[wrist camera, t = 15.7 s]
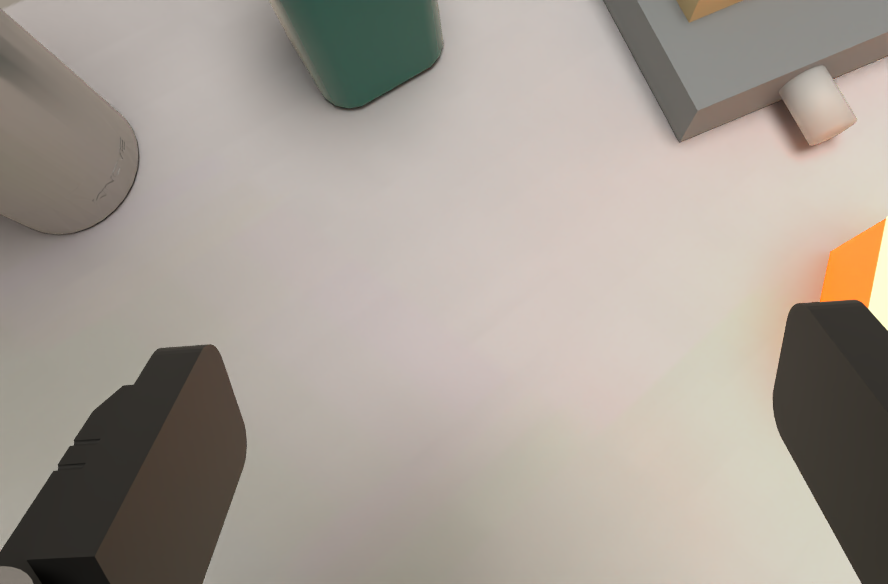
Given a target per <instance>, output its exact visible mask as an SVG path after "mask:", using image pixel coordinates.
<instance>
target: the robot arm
mask: <svg viewBox="0 0 888 584" xmlns="http://www.w3.org/2000/svg"><path fill="white" fill-rule="evenodd" d="M137 165H138V147H137V141H136V138H135V135H134V133H133V130H132V128H131V126H130V125H129V123H128V122H127V121H126V119H125V118H124V117H123V116H122V115H121V114H120V113H119V112H118V111H116V110H115V109H114V108H113V107H112V106H111V105H110V104H109V103H107V102H106V101H105V100H104V99H103V98H102V97H101V96H100V95H98V94H97V93H96V92H95V91H94V90H93V89H92V88H90V87H89V86H88V85H87V84H86V83H85V82H84V81H83V80H82V79H81V78H80V77H78V76H77V75H76V74H75V73H74V72H73V71H72V70H70V69H69V68H68V67H67V66H66V65H65V64H64V63H62V62H61V61H60V60H59V59H58V58H57V57H56V56H54V55H53V54H52V53H51V52H50V51H49V50H48V49H46V48H45V47H44V46H43V45H42V44H41V43H40V42H38V41H37V40H36V39H35V38H34V37H33V36H31V35H30V34H29V33H28V32H27V31H26V30H25V29H23V28H22V27H21V26H20V25H19V24H18V23H17V22H15V21H14V20H13V19H12V18H11V17H10V16H9V15H7V14H6V13H5V12H4V11H3V10H2V9H1V8H0V214H1V215H3V216H5V217H7V218H9V219H12V220H14V221H16V222H18V223H20V224H22V225H25V226H27V227H29V228H31V229H34V230H37V231H40V232H43V233H50V234H66V233H74V232H77V231H80V230H83V229H86V228H89V227H91V226H93V225H95V224H96V223H98V222H100V221H102V220H103V219H104V218H106V217H107V216H108V215H109V214H110V213H112V212H113V211H114V210H115V209H116V208H117V207H118V205H119V204H120V203H121V202H122V201H123V199H124V198H125V197H126V195H127V193H128V191H129V189H130V188H131V186H132V184H133V181H134V178H135V175H136V171H137ZM773 410H774V417H775V421H776V425H777V428H778V431H779V433H780V436H781V438H782V440H783V441H784V443H785V445H786V447H787V449H788V451H789V452H790V454H791V456H792V458H793V460H794V461H795V463H796V465H797V467H798V469H799V471H800V472H801V474H802V476H803V478H804V480H805V481H806V483H807V485H808V487H809V489H810V490H811V492H812V494H813V496H814V498H815V500H816V501H817V503H818V505H819V507H820V509H821V510H822V512H823V514H824V516H825V518H826V520H827V521H828V523H829V525H830V527H831V529H832V530H833V532H834V534H835V536H836V538H837V540H838V541H839V543H840V545H841V547H842V549H843V550H844V552H845V554H846V556H847V558H848V560H849V561H850V563H851V565H852V567H853V569H854V570H855V572H856V574H857V576H858V578H859V579H860V581H861V583H862V584H888V330H887V329H886V328H885V327H884V326H883V325H882V324H881V322H880V321H879V320H878V319H877V318H876V317H875V316H874V315H873V314H872V312H871V311H870V310H869V309H868V308H867V307H866V306H865V305H864V304H863V303H862V302H860V301H859V300H855V299H853V300H840V301H826V302H812V303H798V304H795V305H794V306H793V307H792V308H791V310H790V312H789V314H788V318H787V322H786V327H785V333H784V338H783V343H782V348H781V353H780V359H779V364H778V369H777V374H776V379H775V385H774V390H773ZM246 449H247V440H246V430H245V425H244V422H243V419H242V416H241V413H240V410H239V407H238V404H237V401H236V398H235V395H234V392H233V389H232V386H231V383H230V380H229V377H228V375H227V372H226V369H225V366H224V363H223V360H222V357H221V355H220V353H219V351H218V349H217V348H216V347H215V346H214V345H211V344H210V345H196V346H182V347H169V348H159V349H157V350H156V351H155V352H154V353H153V355H152V356H151V358H150V359H149V361H148V363H147V364H146V366H145V367H144V369H143V371H142V372H141V374H140V376H139V377H138V379H137V380H136V382H135V384H134V385H125V386H122V387H121V388H120V389H119V390H118V391H116V392H115V393H114V394H113V395H112V396H110V397H109V398H108V399H107V400H106V401H105V402H103V403H102V404H101V405H100V406H99V407H97V408H96V409H95V410H94V411H93V412H92V413H91V415H90V416H89V418H88V420H87V421H86V423H85V424H84V426H83V427H82V429H81V430H80V432H79V433H78V435H77V436H76V438H75V439H74V446H70V447H69V448H68V450H67V451H66V453H65V454H64V456H63V457H62V459H61V460H60V462H59V464H58V471H53V473H52V474H51V476H50V477H49V479H48V480H47V482H46V483H45V485H44V486H43V488H42V489H41V491H40V492H39V494H38V495H37V497H36V498H35V500H34V501H33V503H32V504H31V506H30V508H29V509H28V511H27V512H26V514H25V515H24V517H23V518H22V520H21V521H20V523H19V524H18V526H17V527H16V529H15V530H14V532H13V533H12V535H11V536H10V538H9V539H8V541H7V542H6V544H5V545H4V547H3V548H2V550H1V552H0V584H202V583H203V580H204V578H205V575H206V572H207V569H208V566H209V563H210V561H211V558H212V555H213V552H214V549H215V546H216V544H217V541H218V538H219V535H220V532H221V529H222V527H223V524H224V521H225V518H226V515H227V513H228V510H229V507H230V504H231V501H232V498H233V496H234V493H235V490H236V487H237V484H238V481H239V479H240V476H241V473H242V470H243V467H244V463H245V458H246Z"/></svg>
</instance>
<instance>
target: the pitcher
mask: <svg viewBox="0 0 888 584" xmlns="http://www.w3.org/2000/svg"><path fill="white" fill-rule="evenodd" d="M269 2H270V4H271V6H272V8H273V10H274V12H275V13H276V15H277V17H278V19H279V21H280V23H281V25H282V27H283V29H284V31H285V32H286V34H287V36H288V38H289V40H290V41H291V43H292V45H293V46H294V48H295V50H296V51H297V53H298V55H299V56H300V58H301V60H302V61H303V63H304V65H305V66H306V68H307V70H308V71H309V73H310V75H311V76H312V78H313V80H314V81H315V83H316V85H317V86H318V88H319V90H320V91H321V93H322V95H323V96H324V98H325V99H326V100H328V101H329V102H331V103H332V104H334V105H336V106H340V107H345V108H355V107H361V106H363V105H365V104H367V103H369V102H370V101H372V100H374V99H376V98H377V97H379V96H381V95H383V94H384V93H386V92H388V91H390V90H391V89H393V88H395V87H397V86H398V85H400V84H402V83H404V82H405V81H407V80H409V79H411V78H412V77H414V76H416V75H417V74H419V73H421V72H423V71H424V70H426V69H428V68H430V67H431V66H432V65H433V64H434V62H435V61H436V60H437V59H438V58H439V56H440V53H441V50H442V46H443V36H442V30H441V23H440V16H439V9H438V3H437V0H269Z"/></svg>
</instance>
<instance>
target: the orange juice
mask: <svg viewBox="0 0 888 584" xmlns="http://www.w3.org/2000/svg"><path fill="white" fill-rule="evenodd" d="M853 299H855V300H859V301H860V302H862V303H863V304H864V305H865V306H866V307H867V308H868V309H869V310H870V311H871V312H872V314H873V315H874V316H875V317H876V318H877V319H878V320H879V321H880V322H881V324H882V325H883V326H884V327H885V328H886V329H887V330H888V216H887V217H886V219H884V220H882V221H881V222H879V223H877V224H876V225H874V226H872V227H871V228H869V229H867V230H866V231H864V232H862V233H861V234H859V235H857V236H856V237H854V238H852V239H851V240H849V241H847V242H846V243H844V244H842V245H841V246H839V247H837V248H836V249H834V250H832V251H831V252H830V256H829V261H828V266H827V270H826V275H825V280H824V284H823V289H822V294H821V299H820V302H826V301H840V300H853Z"/></svg>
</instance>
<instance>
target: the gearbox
mask: <svg viewBox="0 0 888 584" xmlns="http://www.w3.org/2000/svg"><path fill="white" fill-rule="evenodd" d="M603 1H604V2H605V4H606V6H607V8H608V10H609V12H610V14H611V15H612V17H613V19H614V21H615V23H616V25H617V27H618V29H619V30H620V32H621V34H622V36H623V38H624V40H625V42H626V43H627V45H628V47H629V49H630V51H631V53H632V55H633V57H634V58H635V60H636V62H637V64H638V66H639V68H640V70H641V72H642V73H643V75H644V77H645V79H646V81H647V83H648V85H649V86H650V88H651V90H652V92H653V94H654V96H655V98H656V100H657V101H658V103H659V105H660V107H661V109H662V111H663V113H664V114H665V116H666V118H667V120H668V122H669V124H670V126H671V128H672V129H673V131H674V133H675V135H676V137H677V139H678V141H679V142H682V141H684V140H686V139H689V138H691V137H694V136H696V135H699V134H701V133H703V132H706V131H708V130H711V129H713V128H715V127H718V126H720V125H723V124H725V123H727V122H730V121H732V120H735V119H737V118H739V117H742V116H744V115H747V114H749V113H752V112H754V111H756V110H759V109H761V108H764V107H766V106H768V105H771V104H773V103H776V102H778V101H780V100H783V101H784V103H785V104H786V106H787V108H788V110H789V111H790V113H791V115H792V116H793V118H794V120H795V121H796V123H797V125H798V127H799V128H800V130H801V132H802V133H803V135H804V137H805V139H806V140H807V142H808V144H809V145H810V146H812V145H816V144H819V143H822V142H824V141H826V140H829V139H831V138H833V137H834V136H836V135H838V134H840V133H842V132H843V131H845V130H846V129H848V128H849V127H851V126H852V125H853V124H854V123H855V122H856V121H857V118H856V116H855V115H854V113H853V111H852V110H851V108H850V106H849V105H848V103H847V101H846V100H845V98H844V97H843V95H842V93H841V92H840V90H839V88H838V87H837V85H836V83H835V82H834V80H833V78H836V77H838V76H841V75H843V74H845V73H848V72H850V71H853V70H855V69H857V68H860V67H862V66H865V65H867V64H869V63H872V62H874V61H877V60H879V59H882V58H884V57H886V56H888V0H603Z"/></svg>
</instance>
